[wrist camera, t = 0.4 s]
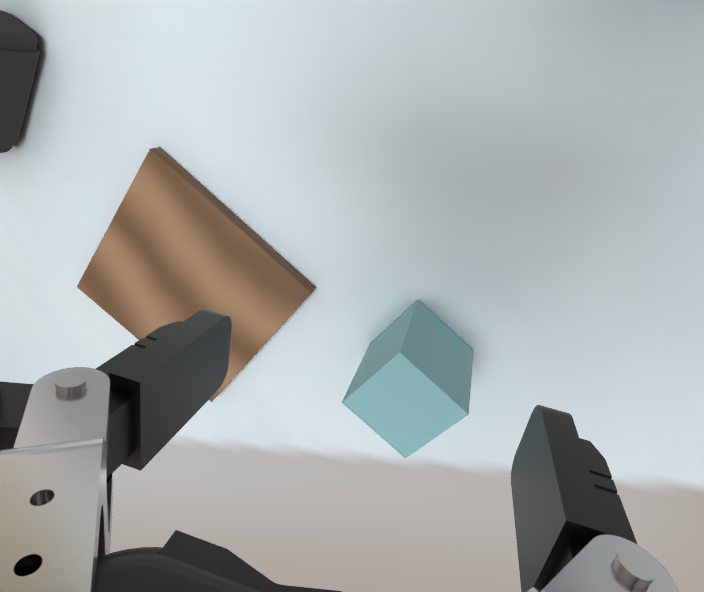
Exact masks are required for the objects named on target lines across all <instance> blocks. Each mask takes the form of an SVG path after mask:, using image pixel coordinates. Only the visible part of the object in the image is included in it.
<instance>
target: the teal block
mask: <svg viewBox="0 0 704 592" xmlns="http://www.w3.org/2000/svg"><path fill="white" fill-rule="evenodd" d="M472 360H473V349H472V348H471V347H470V346H469V345H468V344H467V343H466V342H464V341H463V340H462V339H461V338H460V337H459V336H458V335H457V334H456V333H455V332H454V331H452V330H451V329H450V328H449V327H448V326H447V325H446V324H445V323H444V322H443V321H442V320H440V319H439V318H438V317H437V316H436V315H435V314H434V313H433V312H432V311H431V310H430V309H428V308H427V307H426V306H425V305H424V304H423V303H422V302H421V301H420V300H419V299H418V300H417V301H416V302H415V303H414V304H413V305H412V306H411V307H410V308H408V309H407V310H406V311H405V312H404V313H403V314H402V315H401V316H400V317H399V318H398V319H396V320H395V321H394V322H393V323H392V324H391V325H390V326H389V327H388V328H387V329H386V330H384V331H383V332H382V333H381V334H380V335H379V336H378V337H377V338H376V339H375V340H374V341H372V342H371V343H370V345H369V347H368V349H367V351H366V353H365V355H364V357H363V359H362V361H361V363H360V366H359V368H358V370H357V372H356V374H355V376H354V378H353V380H352V382H351V384H350V386H349V388H348V391H347V393H346V395H345V397H344V399H343V401H342V403H343V404H344V405H345V406H347V407H348V408H349V409H350V410H351V411H352V412H353V413H355V414H356V415H357V416H358V417H359V418H360V419H361V420H363V421H364V422H365V423H366V424H367V425H368V426H369V427H370V428H372V429H373V430H374V431H375V432H376V433H377V434H378V435H380V436H381V437H382V438H383V439H384V440H385V441H386V442H388V443H389V444H390V445H391V446H392V447H393V448H394V449H395V450H397V451H398V452H399V453H400V454H401V455H402V456H403V457H405V458H406V457H408V456H409V455H411V454H412V453H414V452H415V451H417V450H418V449H419V448H421V447H422V446H424V445H425V444H427V443H428V442H429V441H431V440H432V439H434V438H435V437H437V436H438V435H439V434H441V433H442V432H444V431H445V430H447V429H448V428H450V427H451V426H452V425H454V424H455V423H457V422H458V421H460V420H461V419H462V418H464V417H465V416H467V415H468V414H469V401H470V387H471V374H472Z"/></svg>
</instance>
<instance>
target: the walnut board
mask: <svg viewBox="0 0 704 592" xmlns="http://www.w3.org/2000/svg"><path fill="white" fill-rule="evenodd" d="M77 287H78V288H79V289H80V290H81V291H82V292H84V293H85V294H86V295H87V296H88V297H89V298H91V299H92V300H93V301H94V302H95V303H96V304H98V305H99V306H100V307H101V308H102V309H103V310H105V311H106V312H107V313H108V314H109V315H110V316H112V317H113V318H114V319H115V320H116V321H117V322H119V323H120V324H121V325H122V326H123V327H125V328H126V329H127V330H128V331H129V332H130V333H132V334H133V335H134V336H135V337H136V338H137V339H139V340H140V339H142V338H146V336H147V335H148V334H150V333H151V332H153V331H154V330H156V329H157V328H159V327H161V326H164V325H167V324H170V323H174V322H177V321H181V322H183V321H185V320H186V319H188V318H189V317H191V316H192V315H193V314H195V313H196V312H198V311H199V310H201V309H205V310H209V311H212V312H216V313H219V314H223V315H226V316H229V317H230V318H231V321H232V328H231V340H230V353H229V365H228V371H227V374H226V377H225V380H224V382H223V384H222V385H221V387H220V388H219V389H218V390H217V391H216V392H215V393H214V395H213V396H212V397H211V398H210V399H209V400H210V401H211V402H212V401H213V400H214V399H215V398H216V397H217V396H218V395H219V393H220V392H221V391H222V390H223V389H224V388H225V387H226V386H227V385H228V384H229V382H230V381H231V380H232V379H233V378H234V377H235V376H236V375H237V374H238V373H239V371H240V370H241V369H242V368H243V367H244V366H245V365H246V364H247V363H248V362H249V360H250V359H251V358H252V357H253V356H254V355H255V354H256V353H257V352H258V351H259V349H260V348H261V347H262V346H263V345H264V344H265V343H266V342H267V341H268V340H269V338H270V337H271V336H272V335H273V334H274V333H275V332H276V331H277V330H278V329H279V327H280V326H281V325H282V324H283V323H284V322H285V321H286V320H287V319H288V318H289V316H290V315H291V314H292V313H293V312H294V311H295V310H296V309H297V308H298V307H299V305H300V304H301V303H302V302H303V301H304V300H305V299H306V298H307V297H308V296H309V294H310V293H311V292H312V291H313V290H314V289H315V288H316V287H315V286H314V285H313V284H312V283H310V282H309V281H308V280H307V279H306V278H305V277H304V276H303V275H302V274H300V273H299V272H298V271H297V270H296V269H295V268H294V267H293V266H292V265H290V264H289V263H288V262H287V261H286V260H285V259H284V258H283V257H281V256H280V255H279V254H278V253H277V252H276V251H275V250H274V249H273V248H271V247H270V246H269V245H268V244H267V243H266V242H265V241H264V240H263V239H261V238H260V237H259V236H258V235H257V234H256V233H255V232H254V231H253V230H251V229H250V228H249V227H248V226H247V225H246V224H245V223H244V222H243V221H241V220H240V219H239V218H238V217H237V216H236V215H235V214H234V213H233V212H231V211H230V210H229V209H228V208H227V207H226V206H225V205H224V204H222V203H221V202H220V201H219V200H218V199H217V198H216V197H215V196H214V195H212V194H211V193H210V192H209V191H208V190H207V189H206V188H205V187H204V186H202V185H201V184H200V183H199V182H198V181H197V180H196V179H195V178H194V177H192V176H191V175H190V174H189V173H188V172H187V171H186V170H185V169H184V168H182V167H181V166H180V165H179V164H178V163H177V162H176V161H175V160H174V159H172V158H171V157H170V156H169V155H168V154H167V153H166V152H165V151H163V150H162V149H161V148H160V147H158V148H153V149H150V150H149V152H148V154H147V156H146V158H145V160H144V162H143V163H142V165H141V167H140V169H139V171H138V173H137V175H136V177H135V178H134V180H133V182H132V184H131V186H130V188H129V190H128V192H127V193H126V195H125V197H124V199H123V201H122V203H121V205H120V207H119V208H118V210H117V212H116V214H115V216H114V218H113V220H112V222H111V224H110V225H109V227H108V229H107V231H106V233H105V235H104V237H103V239H102V240H101V242H100V244H99V246H98V248H97V250H96V252H95V254H94V255H93V257H92V259H91V261H90V263H89V265H88V267H87V269H86V271H85V272H84V274H83V276H82V278H81V280H80V282H79V284H78V286H77Z"/></svg>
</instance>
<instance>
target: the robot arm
mask: <svg viewBox="0 0 704 592" xmlns="http://www.w3.org/2000/svg"><path fill="white" fill-rule="evenodd" d="M231 328H232V321H231V318H230V317H229V316H226V315H223V314H219V313H216V312H212V311H209V310H205V309H201V310H199V311H198V312H196V313H195V314H193V315H192V316H191V317H189V318H188V319H186V320H185V321H183V322H181V321H177V322H174V323H170V324H167V325H164V326H161V327H159V328H157V329H156V330H154V331H153V332H151V333H150V334H148V335H147V336H146V338H142V339H140V340H139V341H137V342H136V343H135V345H134V346H133V345H131V346H130V347H128V348H127V349H125V350H124V351H122V352H121V353H119V354H118V355H116V356H114V357H113V358H111V359H110V360H108V361H107V362H105V363H104V364H102V365H101V366H99V367H98V368H96V369H93V368H85V367H75V368H67V369H62V370H58V371H55V372H52V373H49V374H47V375H45V376H44V377H42V378H40V379H39V380H38V381H37V382H36V383H35V384H22V383H10V382H0V592H341V591H333V590H323V589H313V588H304V587H295V586H285V585H279V584H276V583H274V582H272V581H271V580H269V579H268V578H267V577H265V576H264V575H262V574H261V573H259V572H258V571H256V570H255V569H254V568H252V567H251V566H250V565H248V564H247V563H246V562H244V561H243V560H242V559H240V558H238V557H237V556H236V555H235V554H233V553H232V552H230V551H229V550H228V549H225V548H223V547H220V546H217V545H215V544H211V543H209V542H207V541H204V540H201V539H198V538H196V537H193V536H191V535H188V534H185V533H182V532H180V531H177V530H176V531H175V532H174V533H173V535H172V536H171V537H170V539H169V540H168V542H167V543H166V544H165V546H164V547H163V548H161V547H142V548H134V549H127V550H122V551H118V552H114V553H110V545H111V524H112V502H113V472H114V471H115V470H116V469H117V468H118V467H119V466H120V465H121V464H124V465H127V466H129V467H132V468H135V469H138V470H142V469H143V468H144V467H145V465H146V464H148V462H149V461H150V460H151V459H152V458H153V457H154V456H155V455H156V454H157V453H158V452H159V451H160V450H161V449H162V448H163V447H164V446H165V445H166V444H167V443H168V442H169V441H170V439H171V438H172V437H173V436H174V435H175V434H176V433H177V432H178V431H179V430H180V429H181V428H182V427H183V426H184V425H185V424H186V423H187V422H188V421H189V420H190V419H191V418H192V416H193V415H194V414H195V413H196V412H197V411H198V410H199V409H200V408H201V407H202V406H203V405H204V404H205V403H206V402H207V401H208V400H209V399H210V398H211V397H212V396H213V395H214V393H215V392H216V391H217V390H218V389H219V388H220V387H221V385H222V384H223V382H224V380H225V377H226V374H227V371H228V365H229V353H230V340H231ZM611 477H612V476H611V473H610V471H609V468H608V465H607V463H606V460H605V458H604V457H603V456H602V455H601V454H600V452H599V451H598V450H597V449H596V448H595V447H594V445H593V444H592V443H591V442H590V441H587V440H584V439H580V438H579V436H578V433H577V430H576V427H575V424H574V421H573V418H572V416H571V414H569V413H565V412H562V411H558V410H555V409H551V408H548V407H544V406H541V405H537V406H536V407H535V408H534V410H533V412H532V414H531V417H530V419H529V422H528V424H527V427H526V429H525V432H524V434H523V437H522V439H521V442H520V444H519V447H518V449H517V452H516V454H515V457H514V461H513V465H512V471H511V485H512V496H513V506H514V516H515V528H516V538H517V548H518V559H519V569H520V579H521V590H522V592H679V591H678V588H677V586H676V583H675V581H674V580H673V578H672V576H671V575H670V573H669V572H668V571H667V569H666V568H665V567H664V566H663V565H662V564H661V563H660V562H659V561H658V560H657V559H656V558H655V557H654V556H653V555H652V554H650V553H649V552H648V551H646V550H645V549H643V548H642V547H641V546H639V545H637V542H636V540H635V537H634V534H633V531H632V529H631V526H630V524H629V521H628V518H627V516H626V513H625V510H624V508H623V505H622V502H621V500H620V497H619V495H617V489H616V486H615V484H614V481H613V480H611Z"/></svg>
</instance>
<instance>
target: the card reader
mask: <svg viewBox="0 0 704 592" xmlns="http://www.w3.org/2000/svg"><path fill="white" fill-rule="evenodd" d="M37 43H38V39H37V35H36V34H35V32H33V31H32V30H31V29H30V28H28V27H27V26H26V25H24V24H23V23H22V22H20V21H19V20H18V19H17V18H15V17H14V16H12V15H10V14H8V13H6V12H3V11H0V153H3V152H7V151H9V150H10V149H11V148H12V146H13V145H15V144H16V143H17V142H18V140H19V136H20V132H21V128H22V124H23V120H24V116H25V112H26V108H27V104H28V100H29V96H30V92H31V88H32V84H33V80H34V76H35V72H36V68H37V64H38V60H39V56H40V50H39V48H38V47H37Z"/></svg>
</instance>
